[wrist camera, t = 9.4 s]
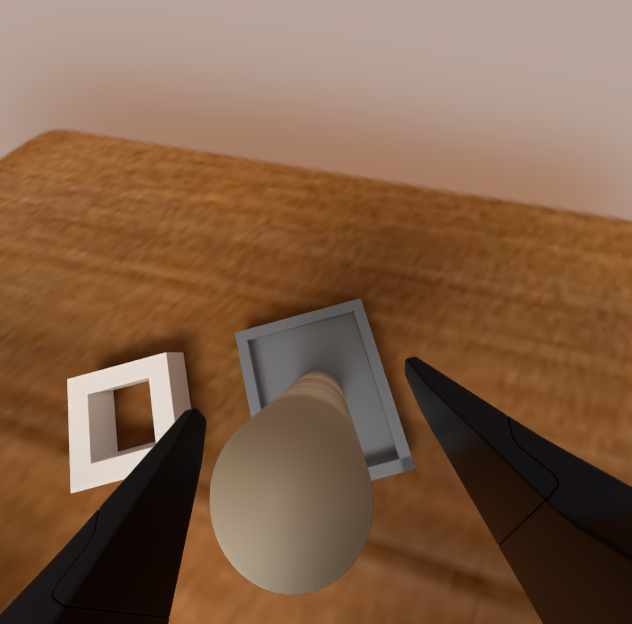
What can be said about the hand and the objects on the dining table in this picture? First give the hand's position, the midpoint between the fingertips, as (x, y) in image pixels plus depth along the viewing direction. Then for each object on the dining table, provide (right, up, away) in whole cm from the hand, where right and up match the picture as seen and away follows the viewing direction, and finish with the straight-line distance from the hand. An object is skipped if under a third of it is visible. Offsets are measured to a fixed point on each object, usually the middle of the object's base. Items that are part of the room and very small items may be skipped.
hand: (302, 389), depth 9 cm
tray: (+1, -3, +8) cm, 8 cm away
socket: (-13, -5, +8) cm, 16 cm away
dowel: (+1, -3, +7) cm, 8 cm away
